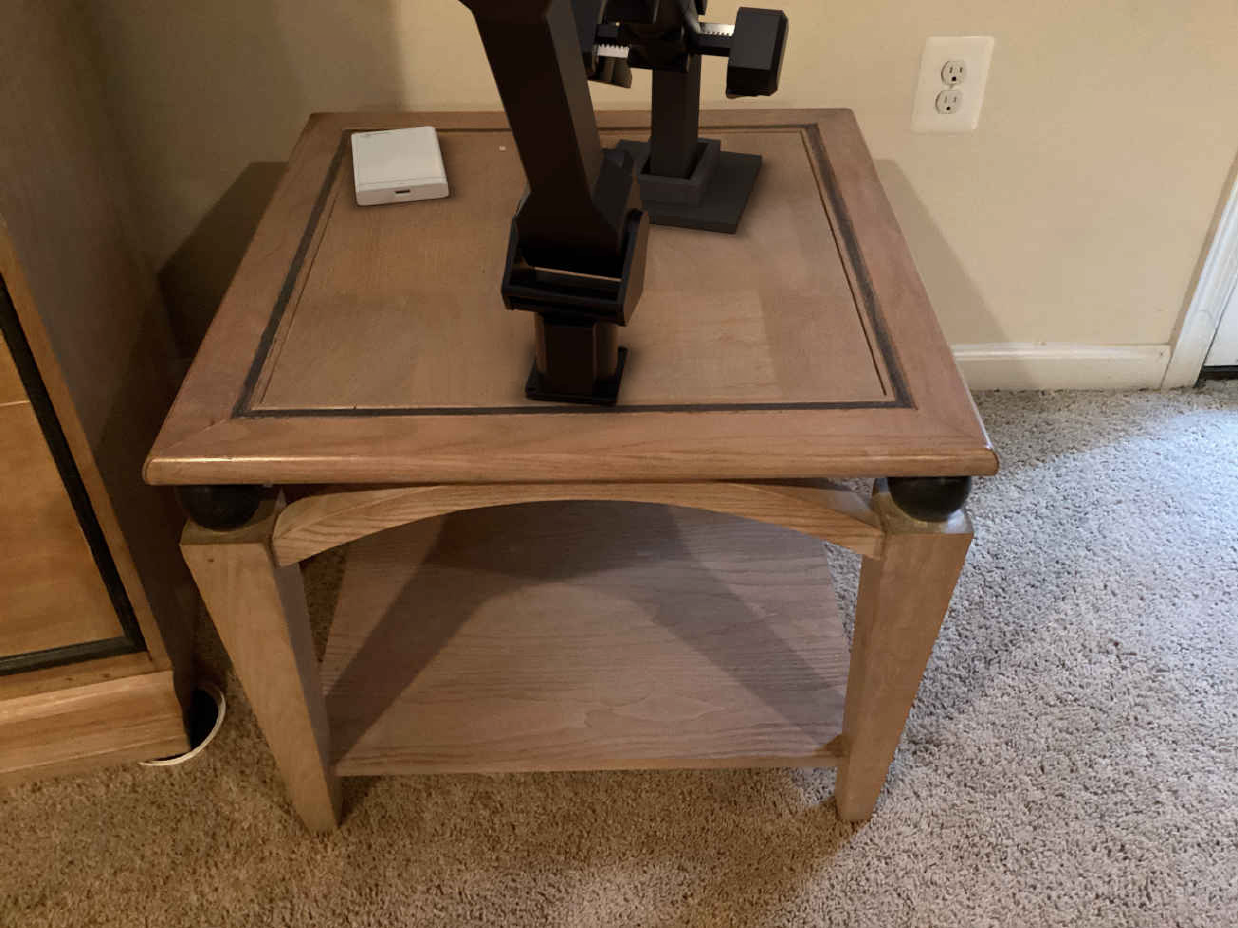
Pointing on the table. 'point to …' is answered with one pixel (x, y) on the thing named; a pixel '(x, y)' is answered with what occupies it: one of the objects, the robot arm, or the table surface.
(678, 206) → the base pad
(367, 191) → the hard drive
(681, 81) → the black tall block
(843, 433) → the table surface
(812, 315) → the table surface
